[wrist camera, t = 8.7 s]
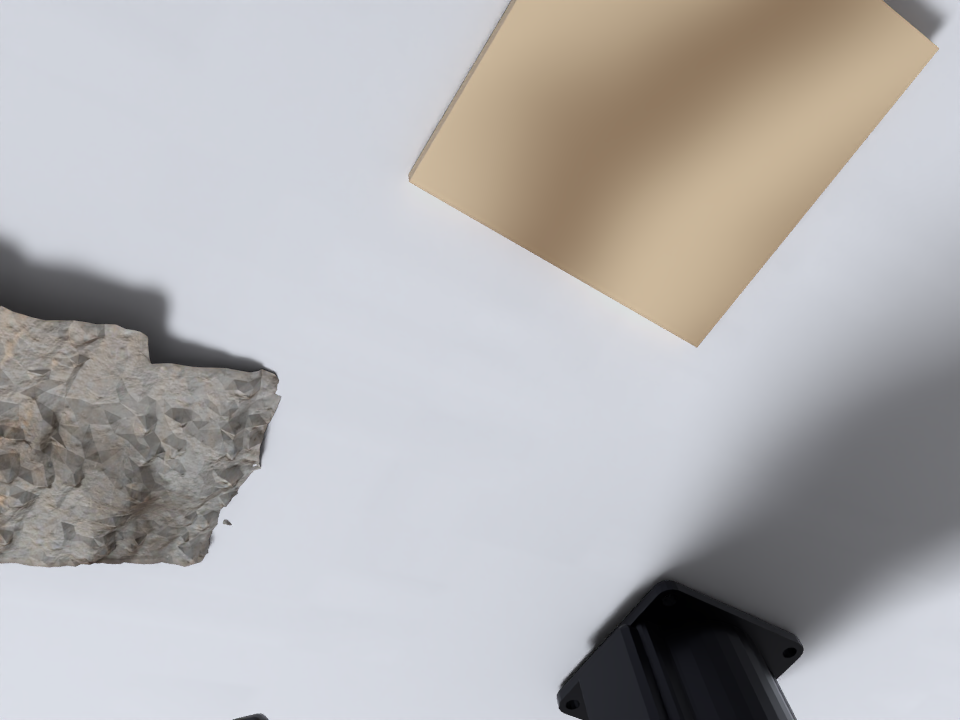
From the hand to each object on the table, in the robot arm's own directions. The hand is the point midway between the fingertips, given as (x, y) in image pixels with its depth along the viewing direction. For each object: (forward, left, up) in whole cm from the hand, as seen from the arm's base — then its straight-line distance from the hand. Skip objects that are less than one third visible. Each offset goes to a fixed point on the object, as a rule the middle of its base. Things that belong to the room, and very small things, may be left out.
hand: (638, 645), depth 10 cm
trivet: (-2, -5, -13) cm, 14 cm away
